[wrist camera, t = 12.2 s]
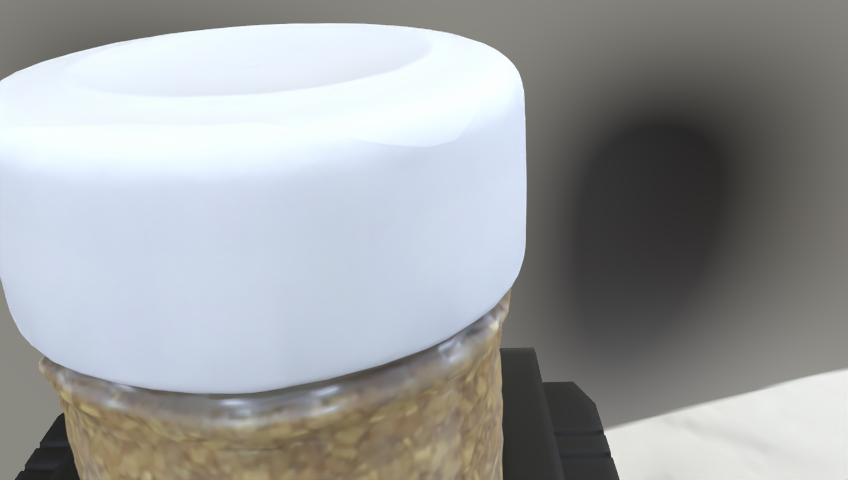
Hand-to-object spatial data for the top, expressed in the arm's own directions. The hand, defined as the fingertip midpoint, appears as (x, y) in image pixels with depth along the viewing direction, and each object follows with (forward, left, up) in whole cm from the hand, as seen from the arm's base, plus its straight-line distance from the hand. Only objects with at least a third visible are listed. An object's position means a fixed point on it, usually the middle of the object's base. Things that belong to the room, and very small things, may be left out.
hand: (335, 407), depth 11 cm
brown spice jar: (+2, +2, -8) cm, 8 cm away
